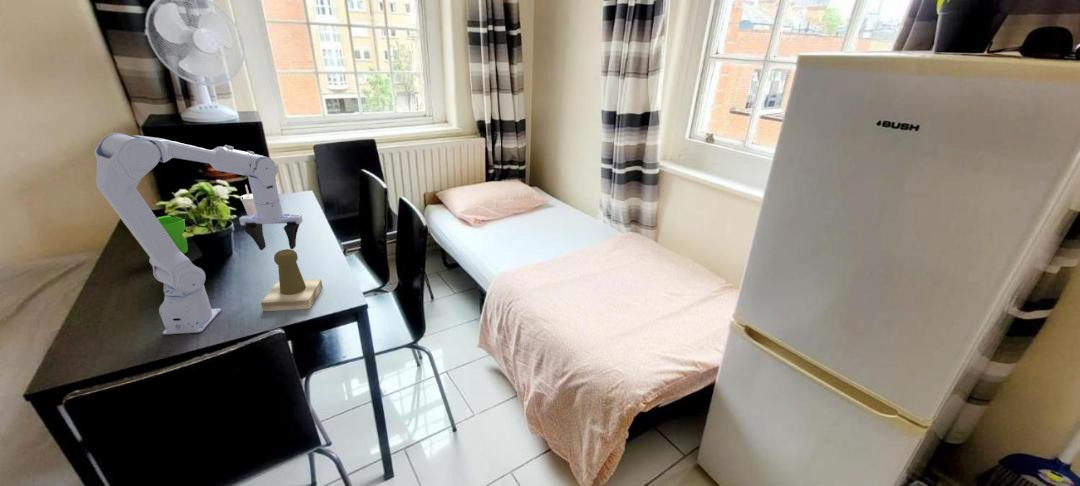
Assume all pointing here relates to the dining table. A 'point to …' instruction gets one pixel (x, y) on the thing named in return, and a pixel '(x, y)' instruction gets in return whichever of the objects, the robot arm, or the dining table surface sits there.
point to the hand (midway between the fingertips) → (278, 248)
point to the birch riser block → (292, 297)
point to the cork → (289, 272)
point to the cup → (175, 231)
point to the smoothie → (249, 203)
